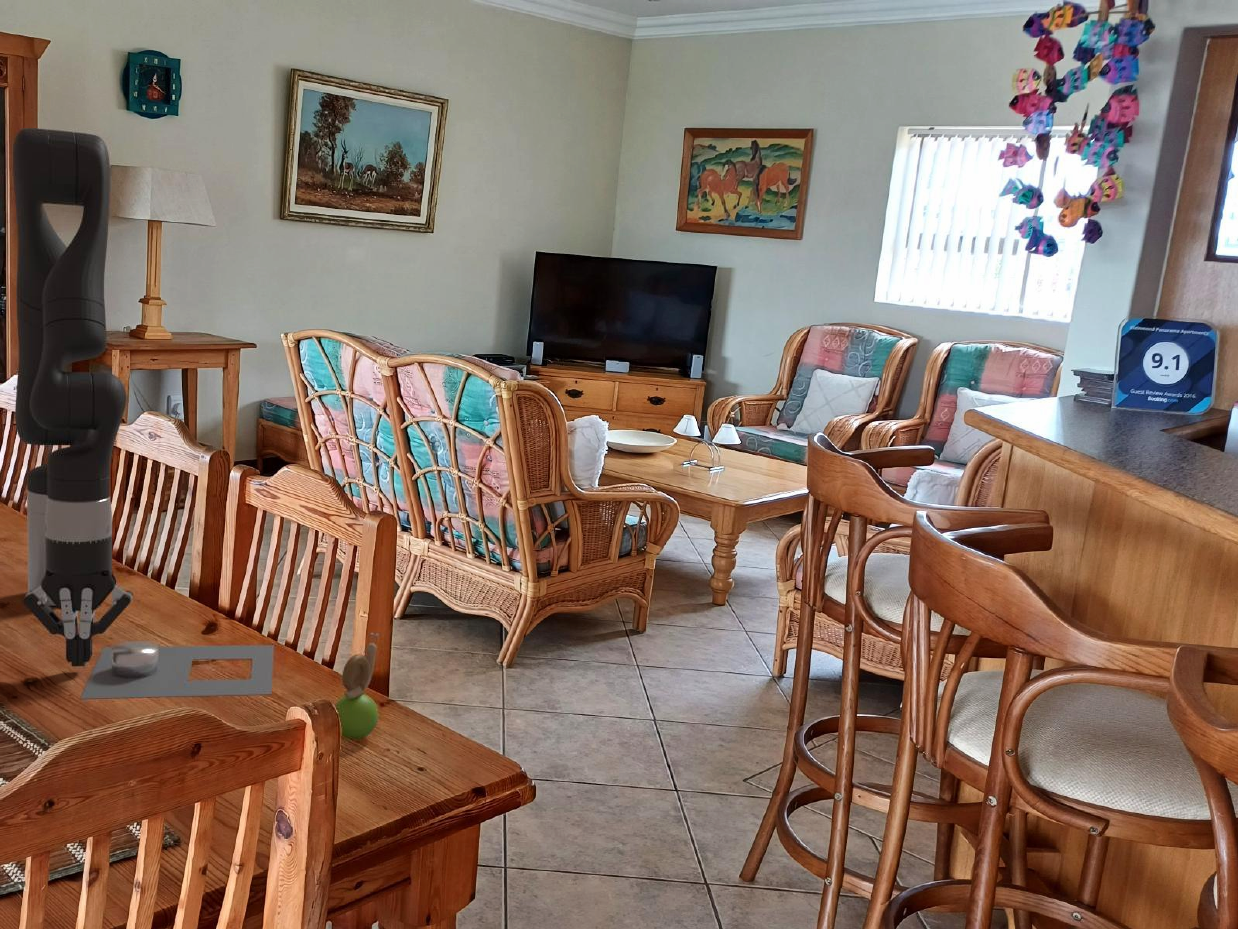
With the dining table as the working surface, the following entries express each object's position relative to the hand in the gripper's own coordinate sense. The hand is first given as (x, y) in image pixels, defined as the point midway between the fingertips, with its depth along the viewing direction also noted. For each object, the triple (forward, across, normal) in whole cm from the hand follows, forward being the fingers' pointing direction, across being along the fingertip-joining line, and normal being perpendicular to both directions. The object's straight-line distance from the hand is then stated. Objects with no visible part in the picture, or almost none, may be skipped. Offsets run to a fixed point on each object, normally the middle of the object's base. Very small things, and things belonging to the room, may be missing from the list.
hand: (79, 664), depth 145 cm
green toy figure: (+3, -34, +19) cm, 39 cm away
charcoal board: (+2, -13, 0) cm, 13 cm away
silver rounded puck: (+1, -7, 0) cm, 7 cm away
